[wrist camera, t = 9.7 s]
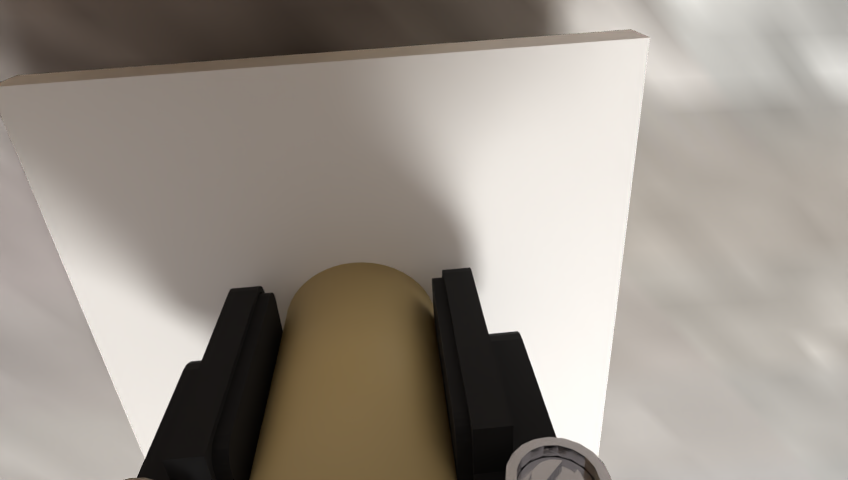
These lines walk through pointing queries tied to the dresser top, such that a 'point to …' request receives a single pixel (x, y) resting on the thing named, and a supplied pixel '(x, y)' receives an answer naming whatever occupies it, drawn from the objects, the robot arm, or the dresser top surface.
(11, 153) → the dresser top surface
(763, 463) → the dresser top surface
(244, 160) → the lid
